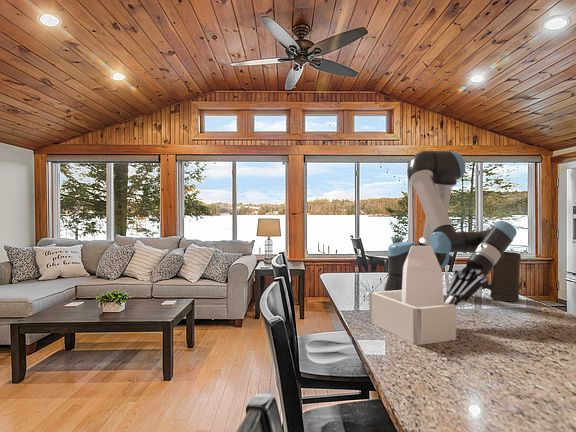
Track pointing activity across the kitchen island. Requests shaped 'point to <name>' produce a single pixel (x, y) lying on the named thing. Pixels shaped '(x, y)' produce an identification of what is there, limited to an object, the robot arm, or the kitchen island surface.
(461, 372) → the kitchen island surface
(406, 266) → the milk
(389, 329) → the cubby
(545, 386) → the kitchen island surface
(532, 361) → the kitchen island surface
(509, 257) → the beer stein
